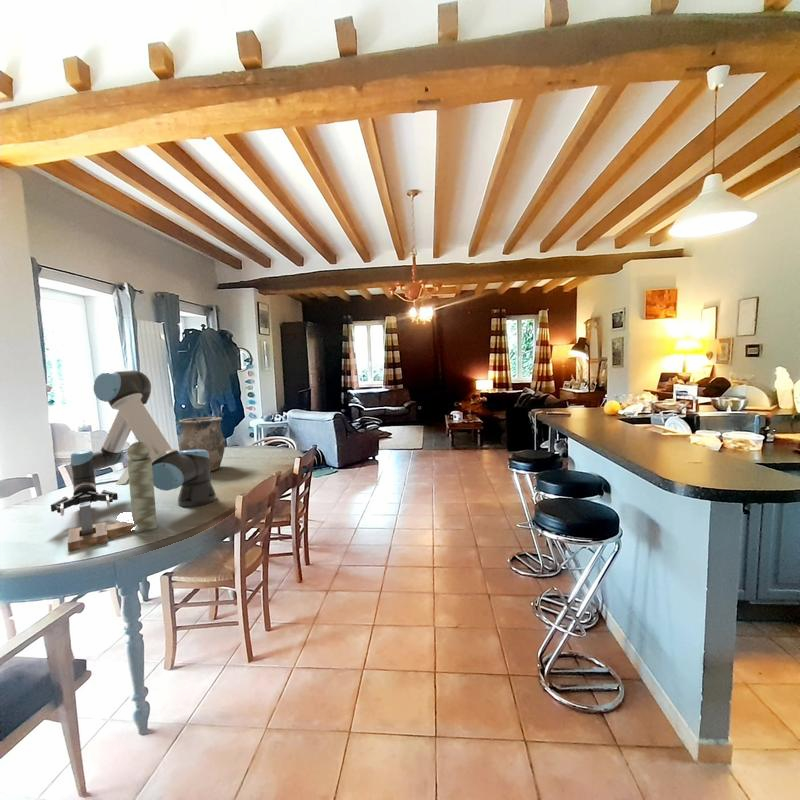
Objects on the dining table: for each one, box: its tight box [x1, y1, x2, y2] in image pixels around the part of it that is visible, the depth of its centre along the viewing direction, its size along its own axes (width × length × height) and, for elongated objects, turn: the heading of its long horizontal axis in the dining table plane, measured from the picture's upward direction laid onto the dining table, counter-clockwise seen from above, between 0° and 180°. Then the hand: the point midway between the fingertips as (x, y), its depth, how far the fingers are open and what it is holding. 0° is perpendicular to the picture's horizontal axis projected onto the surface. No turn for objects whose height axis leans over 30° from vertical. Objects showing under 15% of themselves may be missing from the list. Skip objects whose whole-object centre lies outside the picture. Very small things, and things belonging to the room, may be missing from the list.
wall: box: [114, 466, 129, 486], centre depth 218 cm, size 16×9×15 cm
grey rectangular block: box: [78, 502, 93, 536], centre depth 144 cm, size 3×5×13 cm, turn 38°
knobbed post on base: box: [67, 441, 158, 553], centre depth 147 cm, size 26×14×32 cm, turn 128°
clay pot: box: [178, 416, 226, 473], centre depth 234 cm, size 22×23×30 cm
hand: (85, 507), depth 151 cm, fingers open, 13 cm apart
